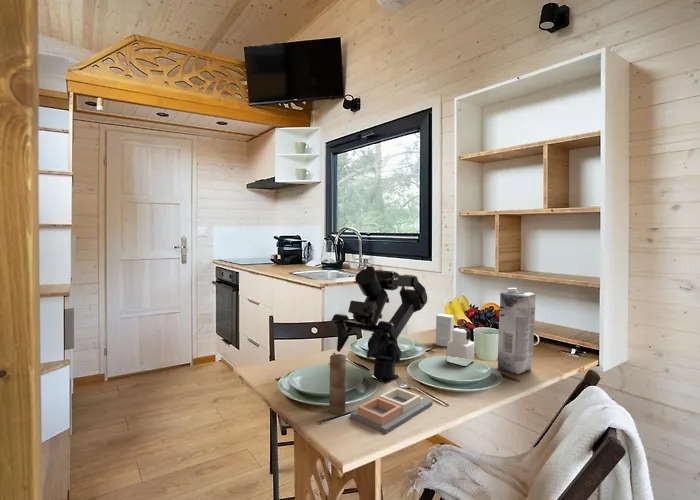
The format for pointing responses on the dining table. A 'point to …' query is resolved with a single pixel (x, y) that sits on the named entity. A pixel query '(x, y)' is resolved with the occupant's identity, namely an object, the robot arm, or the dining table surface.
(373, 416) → the board
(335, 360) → the walnut pin
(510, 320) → the juice carton
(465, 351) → the medicine bottle
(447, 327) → the skincare box
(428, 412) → the dining table surface
